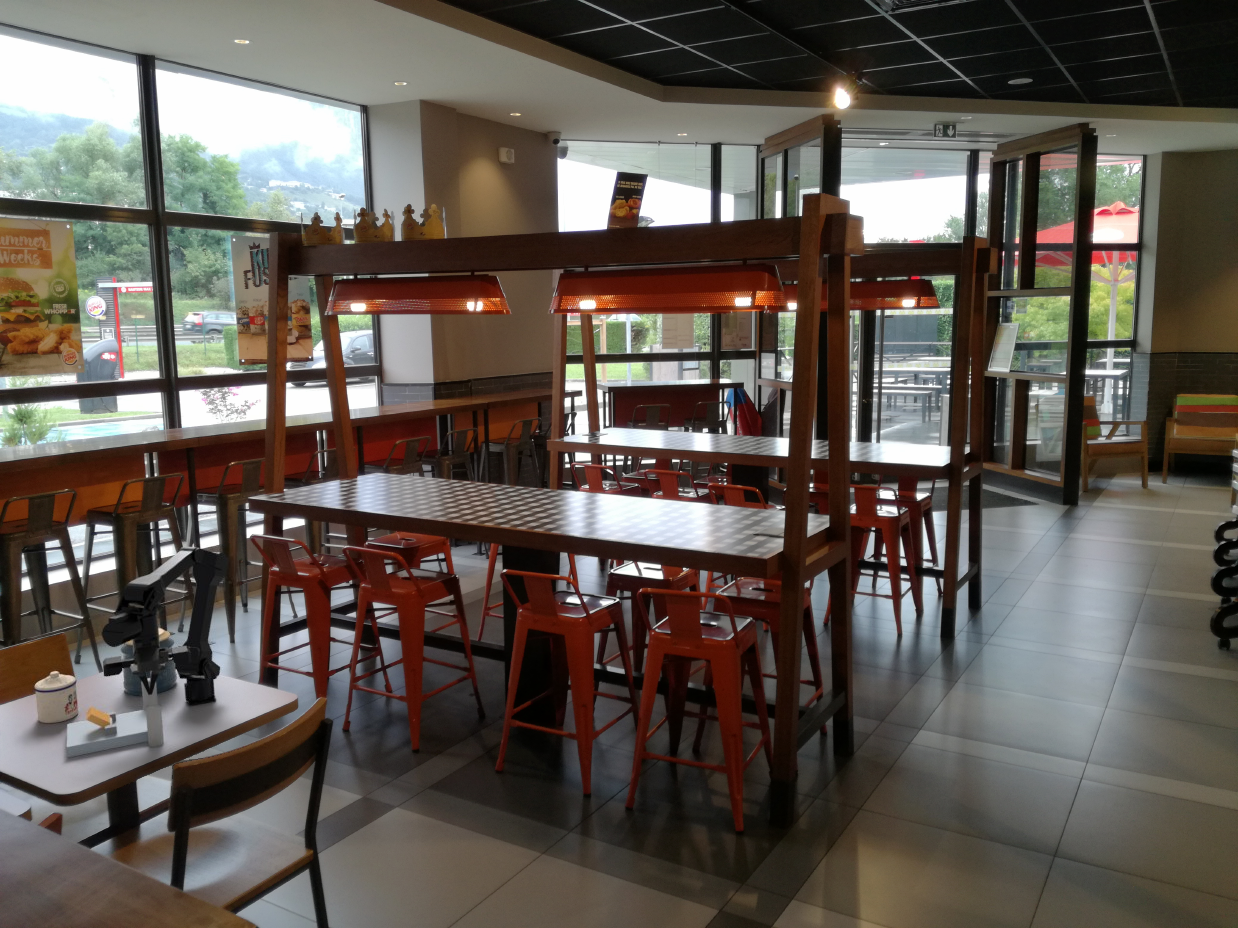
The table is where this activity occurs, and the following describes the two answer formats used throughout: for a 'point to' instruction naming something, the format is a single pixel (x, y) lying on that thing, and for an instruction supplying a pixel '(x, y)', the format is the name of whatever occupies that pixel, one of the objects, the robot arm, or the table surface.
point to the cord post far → (149, 696)
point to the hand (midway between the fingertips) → (150, 694)
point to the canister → (164, 678)
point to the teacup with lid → (56, 698)
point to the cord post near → (154, 725)
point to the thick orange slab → (98, 717)
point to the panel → (97, 737)
